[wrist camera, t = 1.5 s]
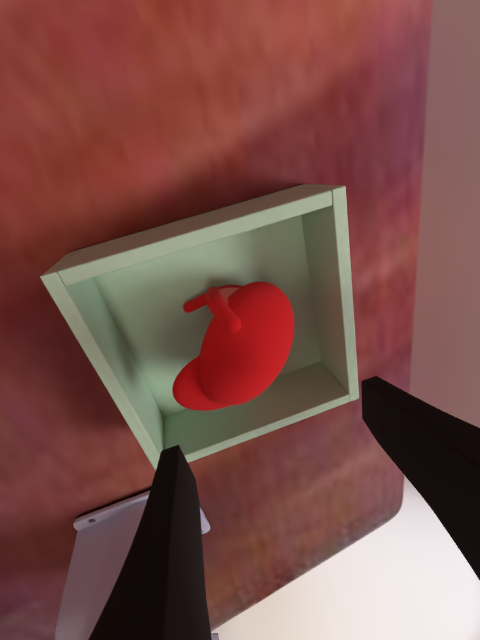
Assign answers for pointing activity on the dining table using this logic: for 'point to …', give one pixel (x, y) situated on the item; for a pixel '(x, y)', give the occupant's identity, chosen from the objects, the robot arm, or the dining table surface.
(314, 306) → the bin
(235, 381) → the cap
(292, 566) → the dining table surface
